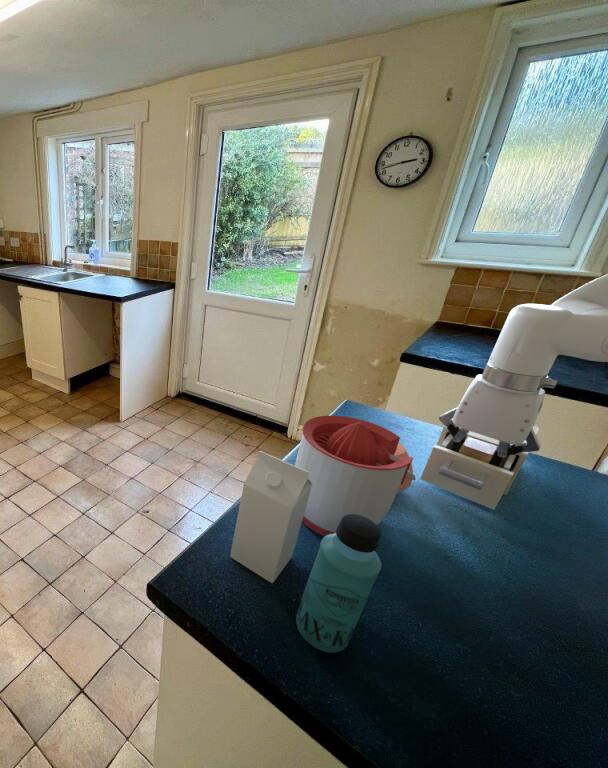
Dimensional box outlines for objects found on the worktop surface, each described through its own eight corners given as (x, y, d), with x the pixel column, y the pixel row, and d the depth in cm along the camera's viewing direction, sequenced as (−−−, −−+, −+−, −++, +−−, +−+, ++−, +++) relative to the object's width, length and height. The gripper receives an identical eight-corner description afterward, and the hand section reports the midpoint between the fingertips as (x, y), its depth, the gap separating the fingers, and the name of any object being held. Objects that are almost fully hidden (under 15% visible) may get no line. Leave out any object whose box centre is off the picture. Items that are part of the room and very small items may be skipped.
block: (488, 465, 79) (497, 446, 77) (483, 474, 76) (492, 455, 74) (459, 455, 82) (468, 436, 80) (453, 463, 79) (462, 444, 78)
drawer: (487, 525, 72) (506, 489, 68) (410, 491, 80) (424, 458, 76) (508, 479, 83) (526, 446, 79) (439, 453, 91) (452, 423, 87)
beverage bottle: (286, 611, 58) (318, 501, 50) (336, 617, 57) (378, 506, 49) (300, 659, 52) (340, 543, 44) (356, 666, 52) (408, 550, 43)
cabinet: (505, 495, 80) (528, 454, 76) (427, 465, 88) (443, 426, 84) (519, 465, 88) (540, 427, 84) (446, 440, 97) (462, 404, 93)
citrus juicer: (406, 565, 65) (453, 461, 57) (287, 540, 70) (314, 441, 61) (377, 500, 79) (411, 408, 70) (279, 483, 83) (300, 395, 75)
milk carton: (250, 533, 71) (270, 441, 63) (292, 557, 67) (319, 461, 58) (229, 557, 67) (247, 461, 58) (272, 584, 62) (298, 484, 54)
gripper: (585, 387, 67) (534, 477, 75) (457, 358, 79) (424, 438, 87) (581, 401, 63) (527, 495, 71) (446, 368, 75) (413, 451, 83)
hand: (471, 463), depth 79 cm, fingers closed on block, 4 cm apart
